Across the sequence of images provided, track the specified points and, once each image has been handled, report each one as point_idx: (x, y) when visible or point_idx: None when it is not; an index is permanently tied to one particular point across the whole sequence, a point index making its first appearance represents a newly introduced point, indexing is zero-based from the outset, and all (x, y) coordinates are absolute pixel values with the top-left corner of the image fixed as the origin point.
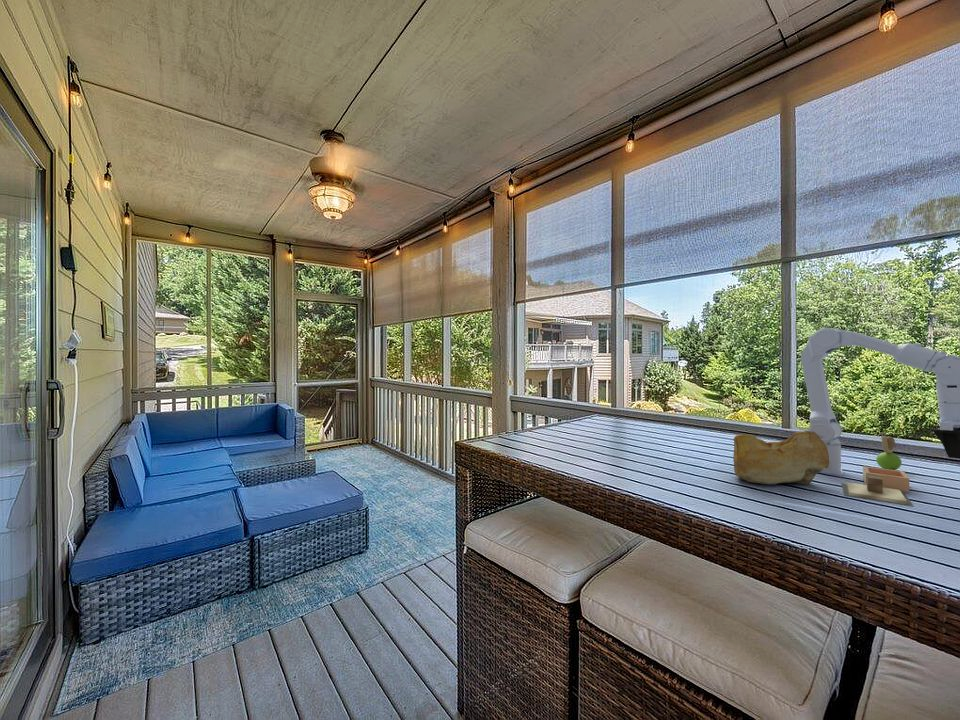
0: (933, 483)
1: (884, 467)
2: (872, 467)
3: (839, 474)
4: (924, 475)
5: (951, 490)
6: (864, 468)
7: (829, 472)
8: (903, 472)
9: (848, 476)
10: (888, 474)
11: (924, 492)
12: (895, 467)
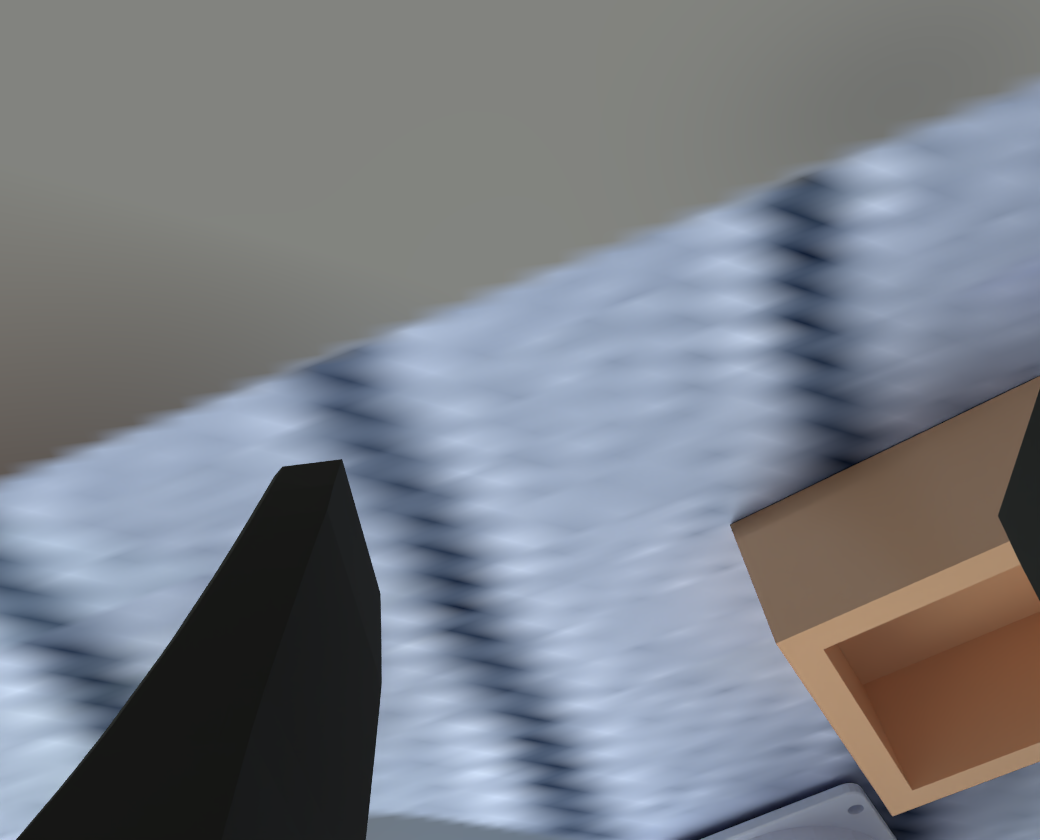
0: None
1: None
2: (871, 778)
3: (866, 799)
4: (63, 646)
5: (455, 307)
6: (990, 776)
7: (883, 837)
8: (848, 619)
9: (803, 768)
10: (837, 660)
11: (829, 358)
12: None
